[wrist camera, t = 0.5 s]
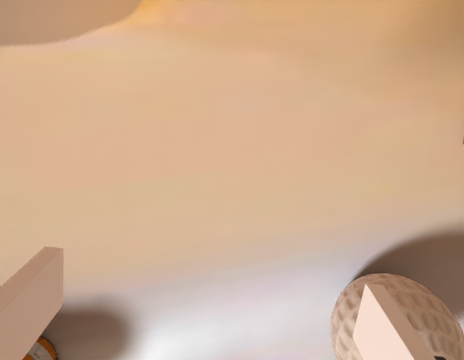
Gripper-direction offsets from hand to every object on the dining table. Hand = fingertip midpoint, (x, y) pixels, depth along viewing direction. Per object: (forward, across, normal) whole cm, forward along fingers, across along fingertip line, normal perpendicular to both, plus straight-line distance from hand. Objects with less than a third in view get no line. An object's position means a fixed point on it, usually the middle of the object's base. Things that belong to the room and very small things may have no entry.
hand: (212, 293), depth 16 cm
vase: (+27, +20, -16) cm, 37 cm away
